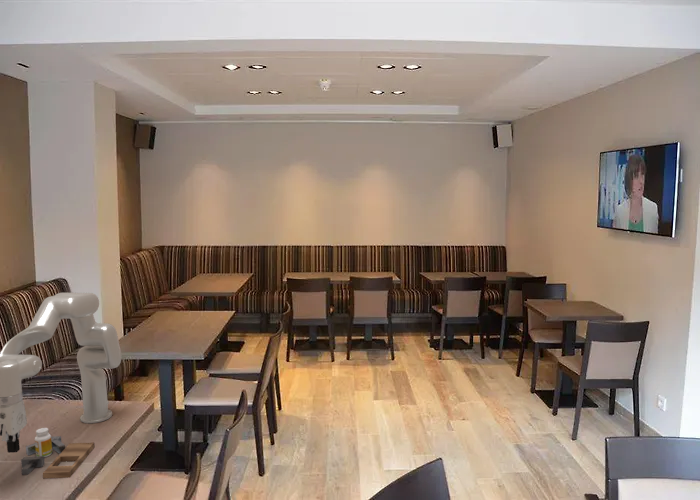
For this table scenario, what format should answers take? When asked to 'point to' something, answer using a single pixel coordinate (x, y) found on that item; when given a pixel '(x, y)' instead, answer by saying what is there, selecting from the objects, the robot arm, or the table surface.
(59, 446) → the vee block
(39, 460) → the gray tee-shaped block
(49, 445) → the supplement bottle
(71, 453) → the block with square hole
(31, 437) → the table surface
